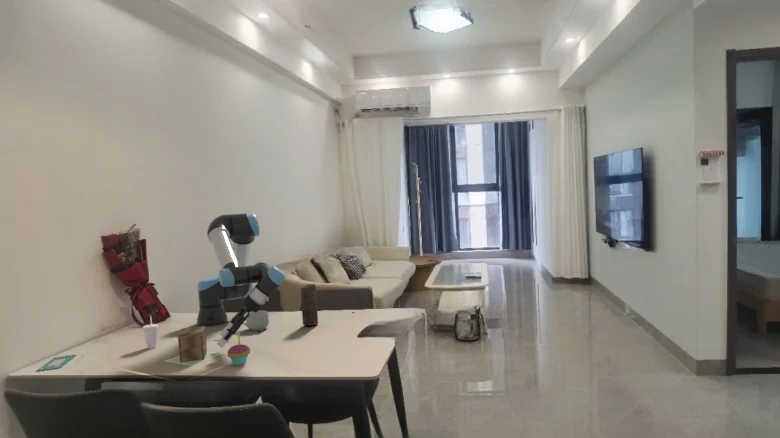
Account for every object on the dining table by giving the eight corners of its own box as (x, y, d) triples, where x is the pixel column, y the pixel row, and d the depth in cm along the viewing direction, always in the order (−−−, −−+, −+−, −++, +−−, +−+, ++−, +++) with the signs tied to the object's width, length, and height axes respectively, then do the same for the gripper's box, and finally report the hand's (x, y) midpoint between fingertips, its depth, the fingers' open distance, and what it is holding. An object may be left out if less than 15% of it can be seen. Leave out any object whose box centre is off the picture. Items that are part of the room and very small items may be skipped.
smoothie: (163, 345, 231) (160, 314, 230) (152, 349, 225) (149, 318, 224) (152, 345, 233) (149, 314, 232) (140, 349, 227) (138, 317, 226)
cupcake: (231, 360, 203) (228, 330, 202) (253, 358, 203) (250, 328, 203) (225, 368, 194) (223, 336, 193) (249, 366, 195) (246, 334, 194)
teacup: (272, 326, 255) (271, 310, 254) (265, 332, 244) (264, 315, 243) (245, 327, 256) (244, 311, 256) (236, 333, 245) (235, 316, 245)
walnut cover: (180, 362, 202) (177, 334, 202) (183, 355, 212) (181, 328, 211) (204, 359, 204) (202, 331, 204) (207, 352, 214) (204, 325, 213)
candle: (316, 327, 247) (314, 285, 246) (301, 328, 248) (298, 286, 247) (319, 323, 255) (316, 282, 254) (304, 324, 255) (301, 283, 254)
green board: (163, 362, 205) (163, 361, 205) (197, 350, 219) (197, 349, 219) (189, 367, 197) (189, 365, 197) (223, 355, 211) (223, 353, 211)
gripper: (262, 312, 202) (226, 355, 199) (262, 299, 226) (230, 338, 224) (247, 300, 200) (210, 343, 198) (249, 288, 225) (216, 327, 222)
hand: (220, 340), depth 211 cm, fingers open, 13 cm apart
